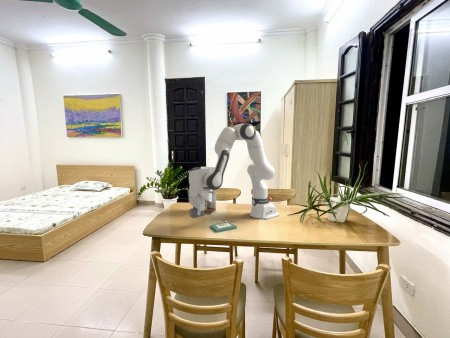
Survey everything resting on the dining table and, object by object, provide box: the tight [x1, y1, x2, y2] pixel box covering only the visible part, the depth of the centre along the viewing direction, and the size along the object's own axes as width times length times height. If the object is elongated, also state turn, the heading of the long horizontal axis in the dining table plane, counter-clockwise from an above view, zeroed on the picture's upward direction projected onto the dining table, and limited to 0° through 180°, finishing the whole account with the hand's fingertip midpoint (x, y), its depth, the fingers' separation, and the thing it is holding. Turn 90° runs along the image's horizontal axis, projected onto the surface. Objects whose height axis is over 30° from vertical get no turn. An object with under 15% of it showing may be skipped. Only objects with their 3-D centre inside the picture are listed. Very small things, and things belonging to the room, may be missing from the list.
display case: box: [200, 166, 217, 216], centre depth 176 cm, size 11×11×35 cm
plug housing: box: [189, 207, 205, 219], centre depth 146 cm, size 8×4×5 cm, turn 117°
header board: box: [209, 221, 238, 233], centre depth 146 cm, size 14×10×2 cm
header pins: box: [219, 219, 228, 226], centre depth 146 cm, size 5×1×3 cm, turn 117°
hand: (197, 213), depth 146 cm, fingers closed on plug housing, 4 cm apart
